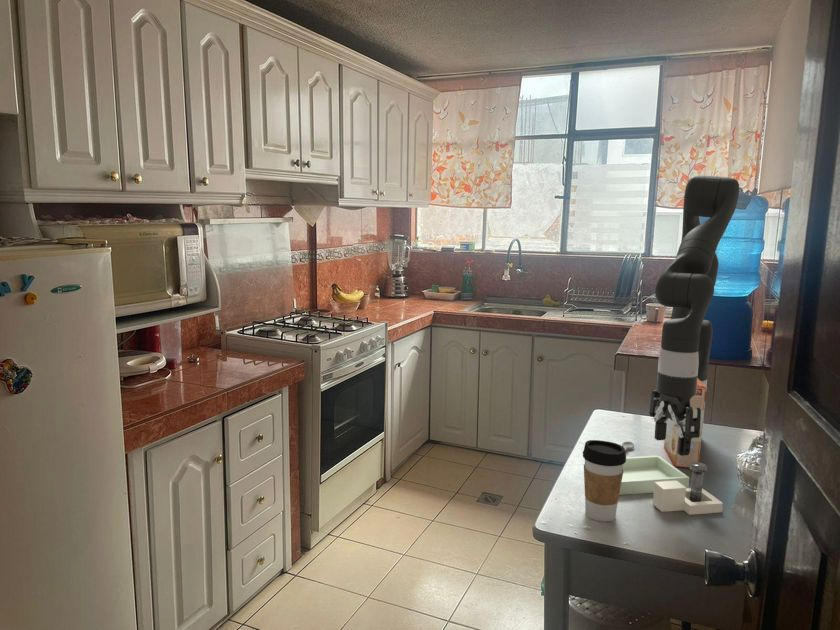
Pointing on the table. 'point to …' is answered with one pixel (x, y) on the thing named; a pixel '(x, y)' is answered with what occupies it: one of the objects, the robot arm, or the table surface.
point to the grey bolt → (697, 480)
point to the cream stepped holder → (683, 499)
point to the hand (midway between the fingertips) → (671, 446)
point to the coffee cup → (602, 478)
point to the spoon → (628, 445)
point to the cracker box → (673, 434)
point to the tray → (648, 474)
